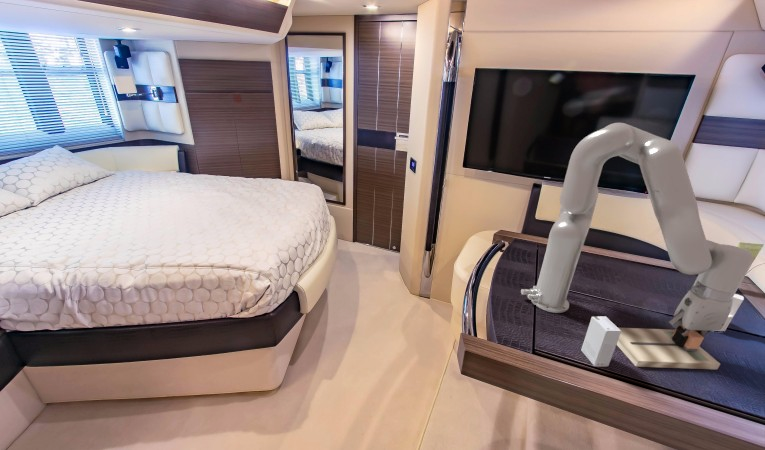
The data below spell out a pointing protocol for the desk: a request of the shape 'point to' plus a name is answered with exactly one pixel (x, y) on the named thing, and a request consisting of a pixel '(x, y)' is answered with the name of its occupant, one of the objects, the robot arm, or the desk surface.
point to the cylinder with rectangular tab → (733, 309)
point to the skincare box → (600, 341)
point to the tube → (751, 248)
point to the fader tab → (692, 340)
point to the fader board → (661, 350)
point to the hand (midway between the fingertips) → (683, 343)
